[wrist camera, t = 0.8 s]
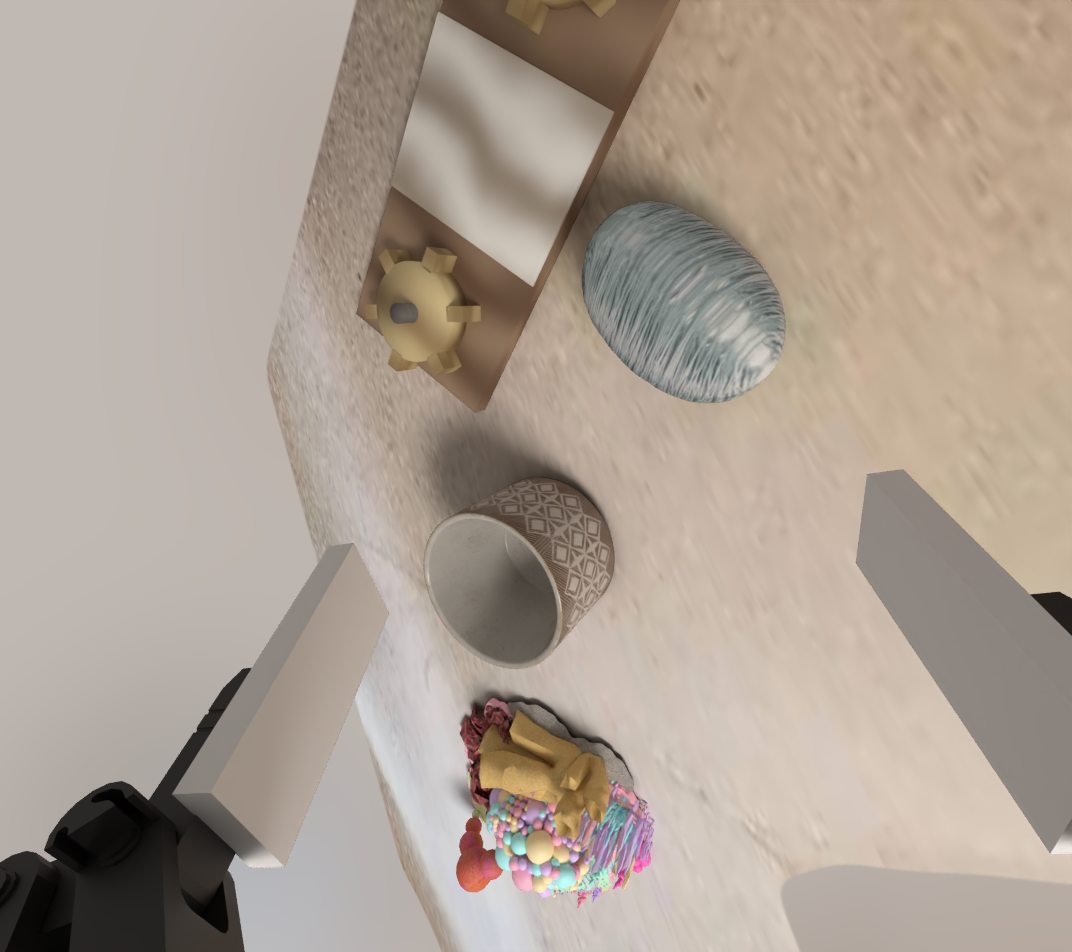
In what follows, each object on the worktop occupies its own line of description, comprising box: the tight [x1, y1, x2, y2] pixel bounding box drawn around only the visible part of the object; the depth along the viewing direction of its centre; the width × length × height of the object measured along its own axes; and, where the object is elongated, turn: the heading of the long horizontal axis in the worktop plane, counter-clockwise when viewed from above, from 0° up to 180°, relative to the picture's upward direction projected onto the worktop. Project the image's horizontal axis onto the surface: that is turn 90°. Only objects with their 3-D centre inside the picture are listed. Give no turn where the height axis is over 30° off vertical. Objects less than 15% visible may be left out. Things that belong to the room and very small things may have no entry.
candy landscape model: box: [456, 698, 654, 909], centre depth 54 cm, size 25×24×9 cm
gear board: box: [356, 0, 680, 412], centre depth 37 cm, size 37×16×6 cm, turn 149°
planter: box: [424, 477, 614, 669], centre depth 43 cm, size 13×13×10 cm
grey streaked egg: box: [582, 201, 786, 403], centre depth 32 cm, size 14×10×10 cm
